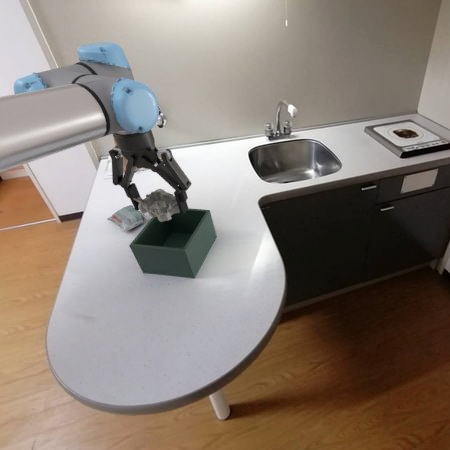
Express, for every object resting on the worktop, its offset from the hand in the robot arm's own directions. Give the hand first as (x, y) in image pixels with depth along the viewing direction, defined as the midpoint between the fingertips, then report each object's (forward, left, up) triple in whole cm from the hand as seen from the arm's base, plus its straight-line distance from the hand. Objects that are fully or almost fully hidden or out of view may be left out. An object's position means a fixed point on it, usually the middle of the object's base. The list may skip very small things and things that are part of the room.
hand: (162, 209), depth 79 cm
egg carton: (0, 0, 0) cm, 0 cm away
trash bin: (-1, +2, -19) cm, 19 cm away
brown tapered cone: (-45, +47, -19) cm, 68 cm away
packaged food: (-25, +13, -19) cm, 34 cm away
